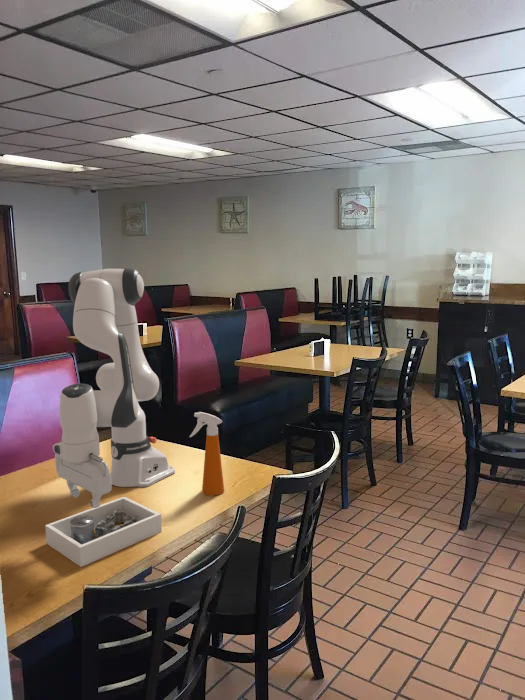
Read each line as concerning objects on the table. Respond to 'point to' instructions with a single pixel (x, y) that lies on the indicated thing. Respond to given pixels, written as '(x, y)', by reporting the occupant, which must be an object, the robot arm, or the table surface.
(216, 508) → the table surface
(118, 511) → the egg carton
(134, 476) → the robot arm
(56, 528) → the tote
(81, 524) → the metal tin
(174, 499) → the table surface
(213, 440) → the spray bottle
